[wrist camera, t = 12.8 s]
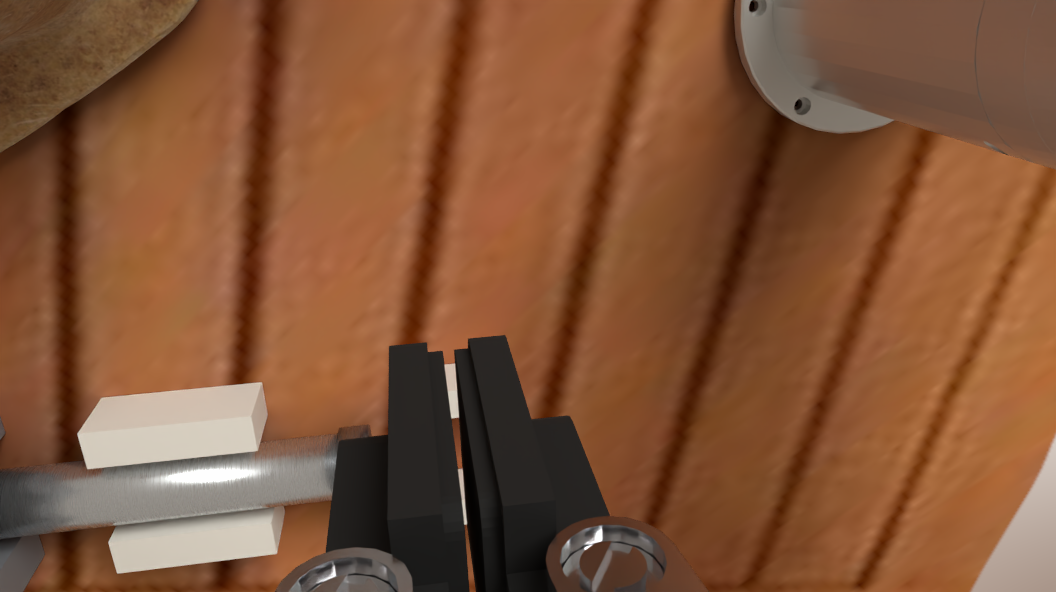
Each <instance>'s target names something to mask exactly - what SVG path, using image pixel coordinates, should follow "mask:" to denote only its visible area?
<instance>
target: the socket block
mask: <svg viewBox="0 0 1056 592" xmlns="http://www.w3.org/2000/svg"><path fill="white" fill-rule="evenodd" d="M4 434H5V430H4V427H3V424H2V421H1V418H0V439H1V438H2V437H3V436H4ZM44 555H45V553H44V550H43V547H42V544H41V541H40V538H39V535H30V536H21V537H13V538H4V539H0V592H23V591H24V589H25V588H26V586H27V584H28V583H29V581H30V579H31V577H32V576H33V574H34V572H35V571H36V569H37V567H38V566H39V564H40V562H41V561H42V559H43V557H44Z"/></svg>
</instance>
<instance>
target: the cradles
mask: <svg viewBox="0 0 1056 592" xmlns="http://www.w3.org/2000/svg"><path fill="white" fill-rule="evenodd" d="M444 366H445V373H446V381H447V389H448V397H449V404H450V412H451V418H459V411H458V397H457V383H456V369H455V364H445V365H444ZM267 416H268V414H267V408H266V402H265V397H264V391H263V385H262V382H259V383H249V384H238V385H228V386H218V387H207V388H197V389H187V390H176V391H166V392H156V393H145V394H135V395H125V396H114V397H104V398H101V399H100V401H99V402H98V404H97V405H96V407H95V408H94V410H93V411H92V413H91V414H90V416H89V417H88V419H87V420H86V422H85V423H84V425H83V426H82V428H81V429H80V431H79V432H78V434H77V435H78V438H79V442H80V445H81V449H82V452H83V456H84V459H85V463H86V466H87V469H95V468H104V467H114V466H123V465H132V464H142V463H151V462H160V461H169V460H179V459H188V458H197V457H207V456H216V455H225V454H235V453H244V452H253V451H258V448H259V445H260V441H261V438H262V434H263V430H264V427H265V423H266V420H267ZM458 474H459V482H460V489H461V497H462V506H463V516H464V525H466V524H467V519H466V508H465V495H464V481H463V469H458ZM284 515H285V509H284V506H278V507H270V508H261V509H253V510H244V511H236V512H227V513H218V514H210V515H201V516H193V517H184V518H176V519H167V520H158V521H150V522H141V523H133V524H124V525H117V526H116V528H115V530H114V532H113V534H112V536H111V538H110V540H109V542H108V543H109V547H110V550H111V554H112V557H113V561H114V564H115V568H116V572H117V574H119V573H127V572H135V571H143V570H151V569H159V568H167V567H175V566H183V565H191V564H199V563H207V562H216V561H224V560H232V559H240V558H248V557H256V556H264V555H272V554H277V551H278V546H279V541H280V536H281V531H282V526H283V521H284Z"/></svg>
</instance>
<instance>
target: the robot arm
mask: <svg viewBox="0 0 1056 592" xmlns="http://www.w3.org/2000/svg"><path fill="white" fill-rule="evenodd" d="M751 1H753V2H754V5H755V6H754V9H753V10H752V11H749V5H750V2H751ZM734 22H735V38H736V43H737V47H738V50H739V54H740V58H741V62H742V65H743V67H744V69H745V71H746V73H747V75H748V77H749V79H750V81H751V83H752V85H753V86H754V87H755V89H756V90H757V91H758V93H759V94H760V95H761V97H762V98H763V99H764V101H765V102H767V103H768V104H769V105H770V106H771V107H773V108H774V109H775V110H776V111H777V112H778V113H780V114H781V115H783V116H785V117H786V118H788V119H790V120H792V121H794V122H796V123H798V124H800V125H803V126H806V127H809V128H812V129H815V130H817V131H824V132H831V133H838V134H840V133H856V132H863V131H867V130H871V129H874V128H878V127H882V126H884V125H886V124H889V123H891V122H893V121H895V120H896V121H899V122H902V123H906V124H909V125H912V126H915V127H919V128H922V129H925V130H928V131H932V132H935V133H938V134H941V135H945V136H948V137H951V138H954V139H958V140H961V141H964V142H967V143H971V144H974V145H977V146H980V147H984V148H987V149H990V150H993V151H997V152H1000V153H1003V154H1006V155H1010V156H1013V157H1016V158H1019V159H1023V160H1026V161H1029V162H1033V163H1036V164H1039V165H1043V166H1046V167H1049V168H1053V169H1056V0H735V8H734ZM797 100H798V106H797V107H796V108H794V105H795V102H796V101H797ZM454 354H455V369H456V383H457V397H458V411H459V425H460V439H461V453H462V467H463V481H464V495H465V508H466V519H467V528H468V535H469V543H470V550H471V558H472V565H473V573H474V580H475V588H476V592H709V591H708V590H707V588H706V587H705V586H704V584H703V583H702V581H701V580H700V579H699V577H698V576H697V575H696V573H695V572H694V570H693V569H692V568H691V566H690V565H689V564H688V562H687V561H686V559H685V558H684V557H683V555H682V554H681V553H680V551H679V550H678V548H677V547H676V546H675V544H674V543H673V542H672V541H671V540H670V539H669V538H668V537H667V536H666V535H665V534H664V533H663V532H661V531H659V530H658V529H656V528H654V527H652V526H650V525H649V524H647V523H644V522H641V521H637V520H634V519H630V518H626V517H614V516H610V515H609V512H608V510H607V507H606V505H605V502H604V500H603V497H602V495H601V492H600V489H599V487H598V484H597V482H596V479H595V477H594V474H593V472H592V469H591V467H590V464H589V462H588V459H587V457H586V454H585V452H584V449H583V446H582V444H581V441H580V439H579V436H578V434H577V431H576V429H575V426H574V424H573V421H572V419H571V418H570V416H559V417H550V418H541V419H531V417H530V414H529V411H528V407H527V404H526V401H525V397H524V394H523V391H522V388H521V384H520V381H519V378H518V375H517V371H516V368H515V365H514V361H513V358H512V355H511V352H510V348H509V345H508V342H507V338H506V336H505V335H502V336H492V337H481V338H470V339H468V349H458V350H454ZM275 592H469V580H468V566H467V553H466V539H465V527H464V516H463V506H462V497H461V489H460V482H459V474H458V466H457V458H456V451H455V443H454V435H453V428H452V420H451V412H450V404H449V397H448V389H447V381H446V373H445V366H444V358H443V351H437V352H428V350H427V343H416V344H405V345H395V346H389V409H388V435H382V436H373V437H363V438H354V439H345V440H340V441H339V443H338V449H337V458H336V467H335V475H334V484H333V493H332V501H331V510H330V519H329V528H328V536H327V545H326V553H324V554H321V555H318V556H315V557H313V558H312V559H310V560H308V561H306V562H305V563H303V564H301V565H299V566H298V567H296V568H295V569H294V570H293V571H292V572H291V573H289V574H288V575H287V576H286V577H285V578H284V579H283V580H282V581H281V582H280V584H279V586H278V587H277V589H276V591H275Z"/></svg>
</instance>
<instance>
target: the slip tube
mask: <svg viewBox="0 0 1056 592" xmlns="http://www.w3.org/2000/svg"><path fill="white" fill-rule="evenodd" d="M363 437H372V435H371V430H370V426H369V425H360V426H351V427H341V428H339V431H338V434H329V435H320V436H310V437H301V438H291V439H282V440H273V441H263V442H260V445H259V448H258V451H253V452H244V453H235V454H225V455H216V456H207V457H197V458H188V459H179V460H169V461H160V462H151V463H142V464H132V465H123V466H114V467H104V468H95V469H87V466H86V463H85V460H84V461H75V462H65V463H56V464H46V465H37V466H27V467H18V468H9V469H0V539H4V538H13V537H21V536H30V535H38V534H47V533H55V532H64V531H73V530H81V529H90V528H98V527H107V526H115V525H124V524H133V523H141V522H150V521H158V520H167V519H176V518H184V517H193V516H201V515H210V514H218V513H227V512H236V511H244V510H253V509H261V508H270V507H278V506H287V505H296V504H304V503H313V502H321V501H330V500H332V493H333V484H334V475H335V467H336V458H337V449H338V443H339V441H340V440H345V439H354V438H363Z"/></svg>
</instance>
